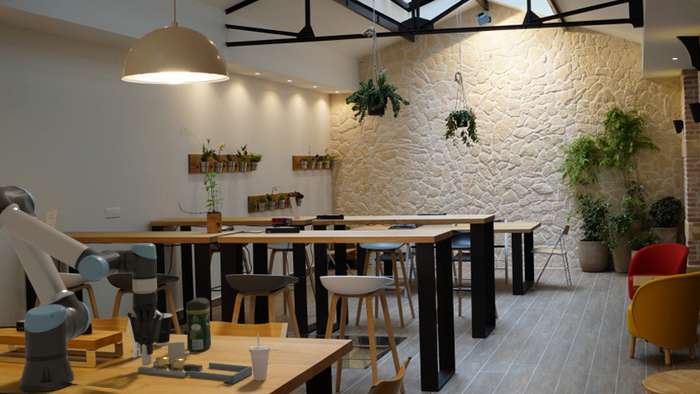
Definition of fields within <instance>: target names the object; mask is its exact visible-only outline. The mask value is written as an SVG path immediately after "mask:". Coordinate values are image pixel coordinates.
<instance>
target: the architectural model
mask: <svg viewBox="0 0 700 394" xmlns="http://www.w3.org/2000/svg"><path fill="white" fill-rule="evenodd" d="M185 347H186V345H185V342H184V341H177V342H169V343H168V345H167V353H166V354H167V357H169V362H171V360H172V359H174V358H184V360H185V359H186V356H185V355H189V353H190V350H186V348H185Z"/></svg>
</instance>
